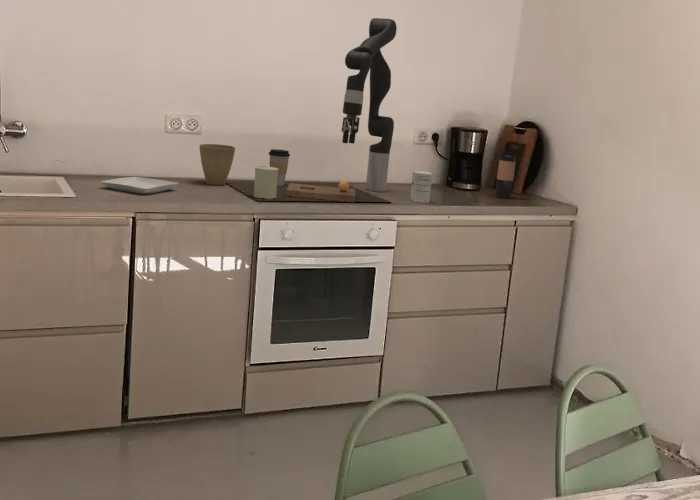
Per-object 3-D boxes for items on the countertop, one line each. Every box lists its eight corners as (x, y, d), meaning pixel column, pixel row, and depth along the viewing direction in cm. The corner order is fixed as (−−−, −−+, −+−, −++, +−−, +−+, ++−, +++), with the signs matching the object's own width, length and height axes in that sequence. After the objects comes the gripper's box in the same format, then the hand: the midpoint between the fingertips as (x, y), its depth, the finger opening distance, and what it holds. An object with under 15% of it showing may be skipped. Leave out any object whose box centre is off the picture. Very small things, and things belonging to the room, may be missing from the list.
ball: (337, 190, 334) (338, 179, 333) (348, 191, 334) (349, 180, 333) (337, 191, 329) (338, 181, 328) (348, 192, 329) (349, 182, 328)
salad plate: (99, 189, 299) (99, 180, 299) (134, 184, 319) (134, 175, 318) (146, 197, 292) (146, 188, 291) (179, 191, 311) (179, 182, 310)
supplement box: (409, 199, 345) (412, 170, 342) (426, 200, 346) (429, 171, 343) (412, 202, 338) (415, 172, 335) (429, 203, 338) (432, 173, 336)
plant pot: (204, 179, 344) (205, 142, 341) (237, 183, 342) (239, 146, 339) (192, 184, 330) (194, 145, 326) (227, 188, 328) (229, 149, 325)
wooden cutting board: (289, 189, 341) (289, 183, 340) (354, 195, 342) (354, 189, 341) (286, 196, 321) (286, 190, 321) (355, 202, 322) (355, 196, 322)
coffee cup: (284, 187, 345) (287, 152, 342) (263, 184, 347) (265, 150, 344) (290, 184, 354) (292, 150, 351) (270, 182, 356) (272, 148, 353)
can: (266, 194, 322) (268, 164, 319) (281, 198, 315) (283, 168, 313) (248, 195, 315) (250, 165, 313) (262, 199, 309) (265, 168, 306)
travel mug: (511, 197, 380) (517, 155, 375) (509, 199, 372) (515, 157, 368) (495, 195, 382) (501, 153, 377) (493, 197, 375) (498, 155, 370)
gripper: (367, 103, 312) (362, 144, 314) (356, 104, 326) (351, 144, 327) (349, 100, 310) (344, 142, 311) (339, 101, 323) (334, 141, 325)
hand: (348, 143), depth 319 cm, fingers open, 8 cm apart
